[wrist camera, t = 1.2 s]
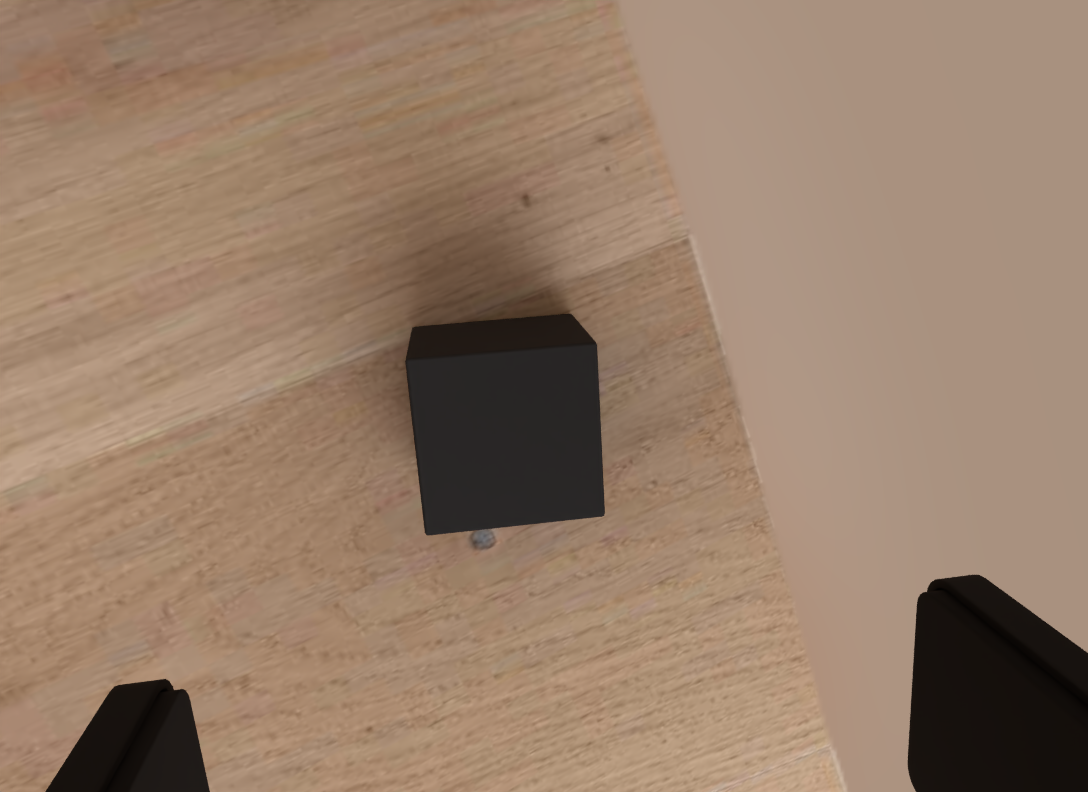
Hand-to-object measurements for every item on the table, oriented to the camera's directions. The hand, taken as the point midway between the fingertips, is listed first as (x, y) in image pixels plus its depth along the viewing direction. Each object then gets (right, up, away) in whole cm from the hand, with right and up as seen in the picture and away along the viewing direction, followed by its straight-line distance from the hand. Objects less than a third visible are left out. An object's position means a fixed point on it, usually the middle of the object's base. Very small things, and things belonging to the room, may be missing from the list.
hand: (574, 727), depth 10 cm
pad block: (-2, +4, +13) cm, 14 cm away
